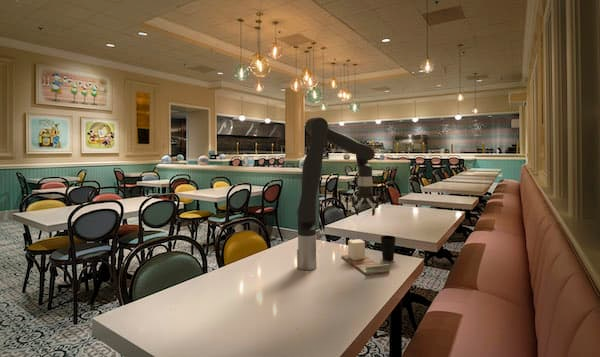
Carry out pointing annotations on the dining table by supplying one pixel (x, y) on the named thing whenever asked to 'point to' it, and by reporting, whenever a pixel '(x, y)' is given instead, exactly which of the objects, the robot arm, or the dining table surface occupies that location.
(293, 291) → the dining table surface
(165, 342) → the dining table surface
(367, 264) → the track
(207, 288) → the dining table surface
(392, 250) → the cup
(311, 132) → the robot arm
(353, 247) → the block
